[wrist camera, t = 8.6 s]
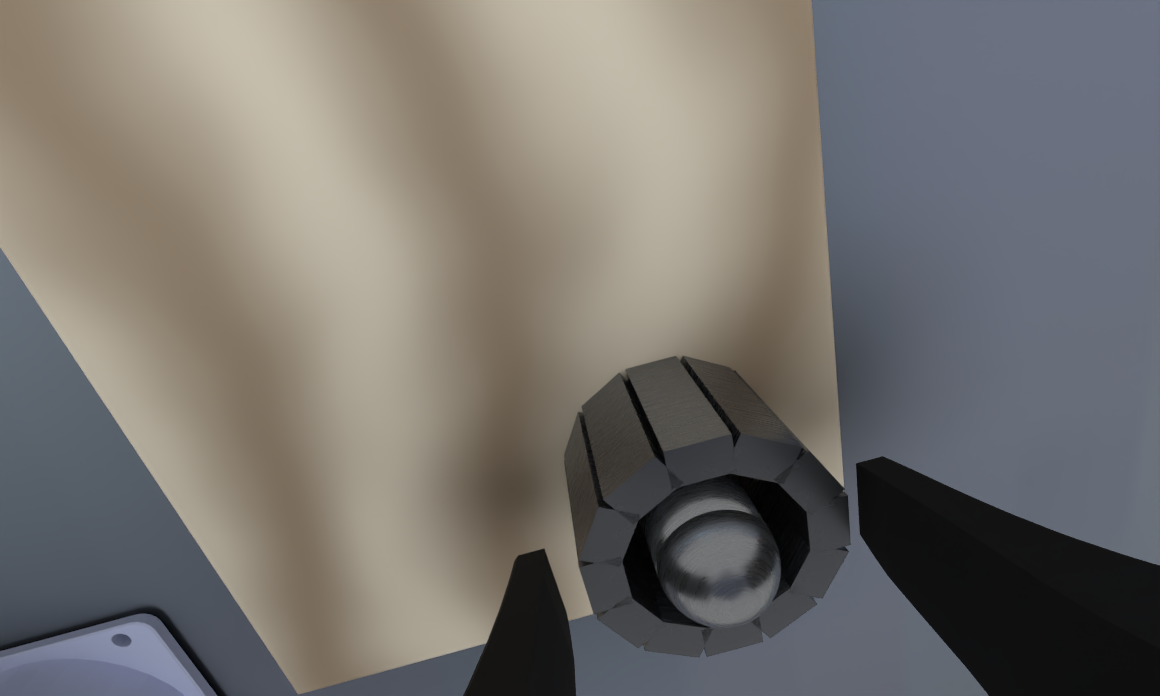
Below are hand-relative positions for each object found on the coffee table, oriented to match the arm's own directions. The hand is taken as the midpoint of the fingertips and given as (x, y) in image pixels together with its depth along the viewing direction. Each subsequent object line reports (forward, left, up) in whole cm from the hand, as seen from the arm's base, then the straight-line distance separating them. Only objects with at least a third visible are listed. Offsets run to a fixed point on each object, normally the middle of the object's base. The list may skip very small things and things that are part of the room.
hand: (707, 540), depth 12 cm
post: (0, 0, -4) cm, 4 cm away
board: (-4, +5, -4) cm, 8 cm away
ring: (0, 0, -3) cm, 3 cm away
